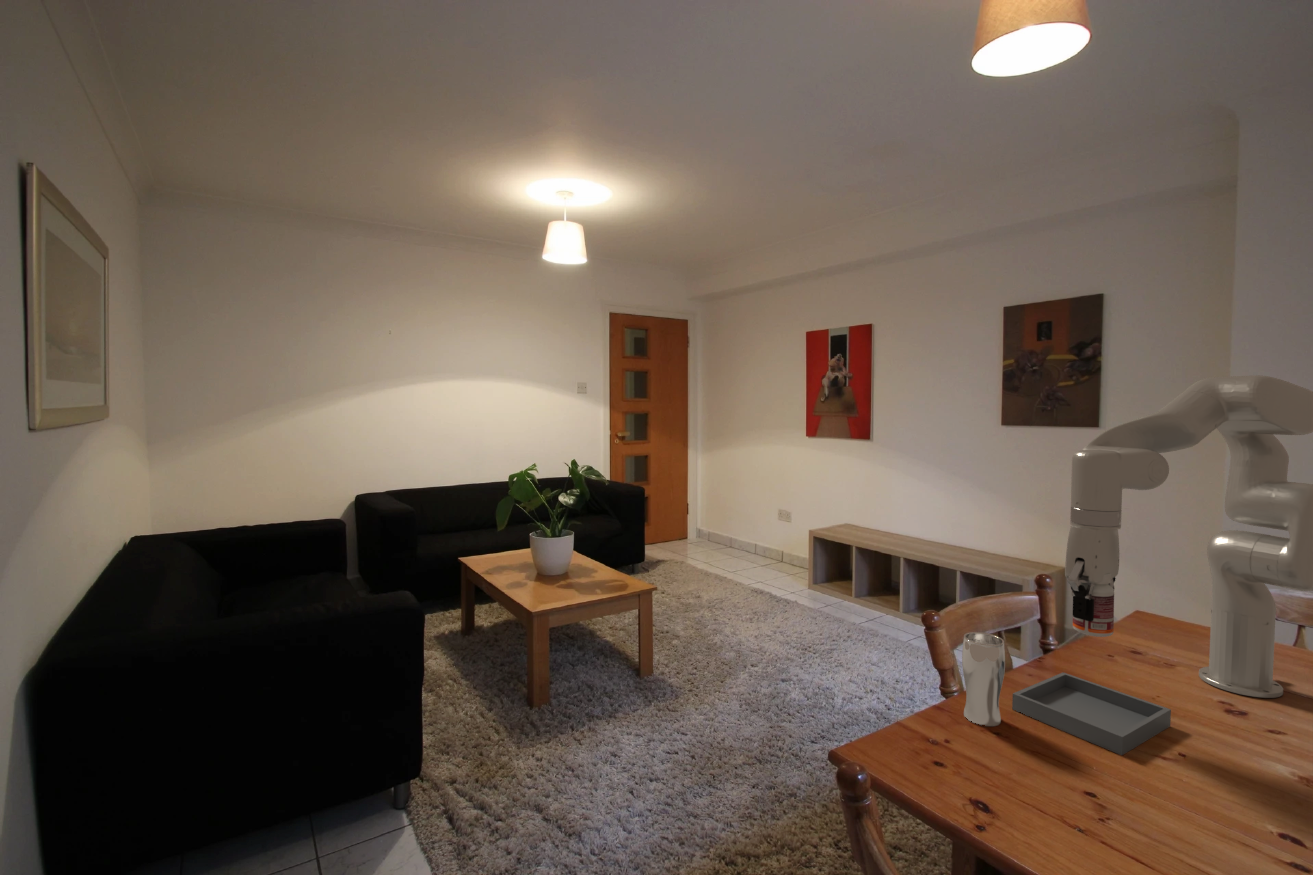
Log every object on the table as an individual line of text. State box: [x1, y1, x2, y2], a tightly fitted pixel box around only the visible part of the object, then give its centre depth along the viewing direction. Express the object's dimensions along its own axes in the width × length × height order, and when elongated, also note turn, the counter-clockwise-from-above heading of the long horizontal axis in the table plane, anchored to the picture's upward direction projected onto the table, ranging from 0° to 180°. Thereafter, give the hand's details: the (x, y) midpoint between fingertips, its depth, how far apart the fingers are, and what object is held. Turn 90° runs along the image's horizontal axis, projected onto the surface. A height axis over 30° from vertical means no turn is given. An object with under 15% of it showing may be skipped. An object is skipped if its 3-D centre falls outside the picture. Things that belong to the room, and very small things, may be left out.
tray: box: [1011, 671, 1172, 756], centre depth 114 cm, size 18×18×3 cm
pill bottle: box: [1072, 573, 1115, 638], centre depth 113 cm, size 6×6×11 cm
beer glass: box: [961, 631, 1006, 727], centre depth 114 cm, size 7×7×15 cm
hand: (1092, 614), depth 113 cm, fingers closed on pill bottle, 6 cm apart
